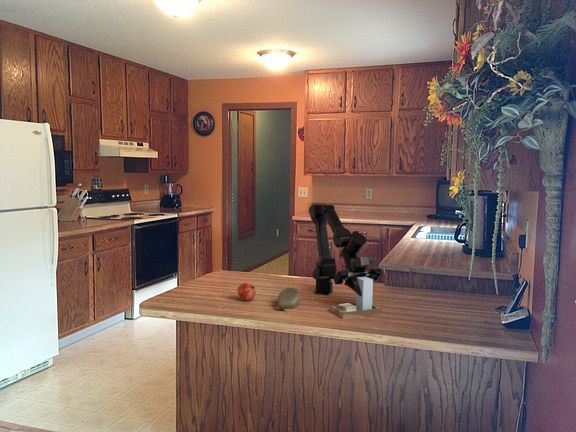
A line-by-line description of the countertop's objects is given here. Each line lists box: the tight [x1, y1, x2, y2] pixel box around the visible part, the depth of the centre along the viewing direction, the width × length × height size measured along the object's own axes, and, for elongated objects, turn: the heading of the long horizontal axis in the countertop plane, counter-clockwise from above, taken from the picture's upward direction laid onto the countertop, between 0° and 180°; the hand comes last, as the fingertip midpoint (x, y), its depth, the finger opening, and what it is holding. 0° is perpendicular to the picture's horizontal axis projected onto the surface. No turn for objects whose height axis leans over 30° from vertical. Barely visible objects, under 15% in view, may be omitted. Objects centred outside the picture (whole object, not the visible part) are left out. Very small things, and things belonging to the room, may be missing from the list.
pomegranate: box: [236, 282, 257, 302], centre depth 195 cm, size 7×7×10 cm
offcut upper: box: [338, 302, 356, 312], centre depth 176 cm, size 5×4×2 cm
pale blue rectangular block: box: [355, 277, 374, 311], centre depth 178 cm, size 5×4×12 cm
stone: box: [276, 287, 302, 311], centre depth 187 cm, size 9×14×10 cm, turn 172°
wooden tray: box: [329, 302, 383, 320], centre depth 177 cm, size 10×16×3 cm, turn 112°
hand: (366, 295), depth 177 cm, fingers closed on pale blue rectangular block, 4 cm apart
